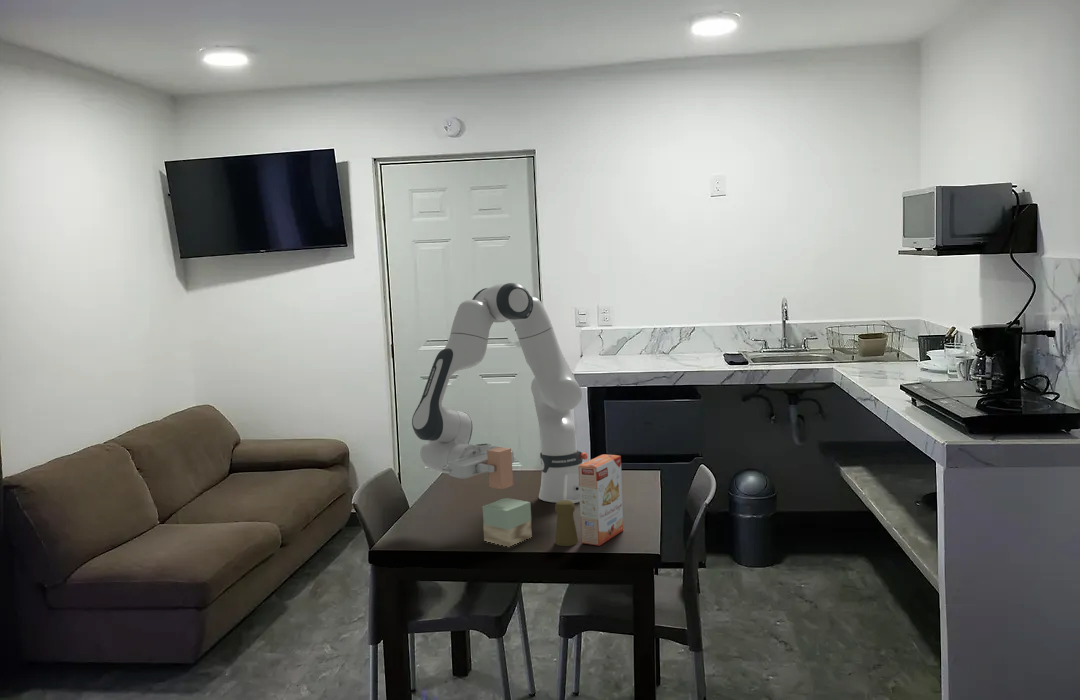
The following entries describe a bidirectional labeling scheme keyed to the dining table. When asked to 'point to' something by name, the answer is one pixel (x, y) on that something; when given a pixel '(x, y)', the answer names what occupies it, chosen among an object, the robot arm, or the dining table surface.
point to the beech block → (507, 534)
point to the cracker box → (600, 499)
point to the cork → (565, 524)
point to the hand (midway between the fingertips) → (502, 466)
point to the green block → (506, 513)
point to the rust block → (500, 467)
